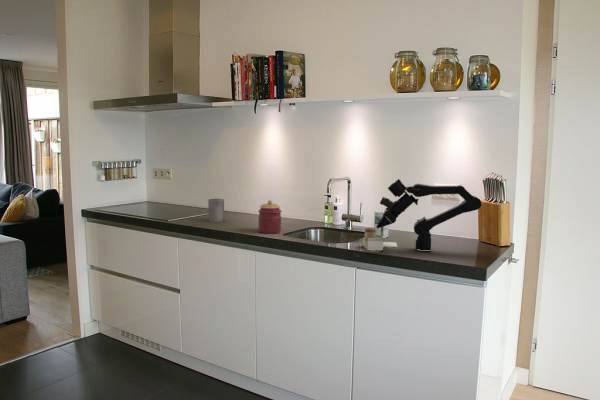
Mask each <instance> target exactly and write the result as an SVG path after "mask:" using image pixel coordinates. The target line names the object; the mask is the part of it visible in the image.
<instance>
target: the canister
mask: <svg viewBox="0 0 600 400" xmlns="http://www.w3.org/2000/svg"><path fill="white" fill-rule="evenodd" d="M259 208H260V209H258V211H257V212H258V217H257V219H258V228H257V229H258V232H259V233H261V234H267V235H271V234H272V235H273V234H274V235H275V234H279V233H281V232H282V214H281V213H282V210H281V209H280V208H281V205H278V204H277V203H273V200H268V201H267V203H263V204H261V205H260V206H259Z"/></svg>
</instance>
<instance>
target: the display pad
mask: <svg viewBox="0 0 600 400" xmlns="http://www.w3.org/2000/svg"><path fill="white" fill-rule="evenodd" d="M384 246H385V247H397V248H398V244H397V242H390V241H383V247H384Z"/></svg>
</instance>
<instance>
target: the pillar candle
mask: <svg viewBox="0 0 600 400" xmlns="http://www.w3.org/2000/svg"><path fill="white" fill-rule="evenodd" d="M207 201H208V206H207V207H208V222H209V223H223V222H225V199H224V198H210V199H208V200H207Z"/></svg>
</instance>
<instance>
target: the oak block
mask: <svg viewBox="0 0 600 400" xmlns="http://www.w3.org/2000/svg"><path fill="white" fill-rule="evenodd" d="M375 233H376V229H375V228H374V227H364V247H368V238H375Z"/></svg>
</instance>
